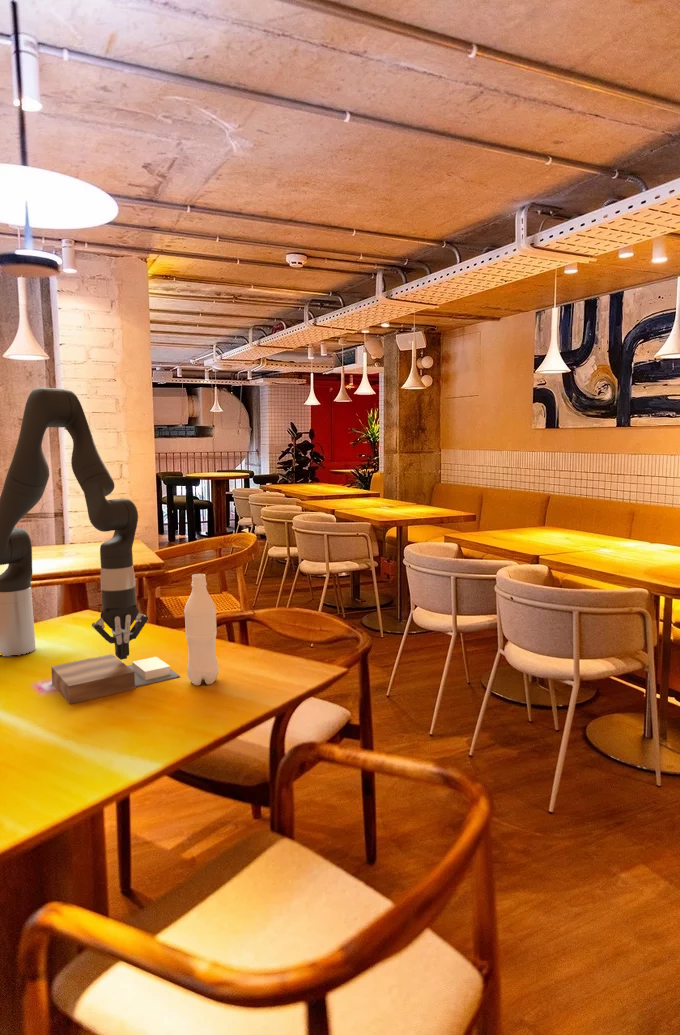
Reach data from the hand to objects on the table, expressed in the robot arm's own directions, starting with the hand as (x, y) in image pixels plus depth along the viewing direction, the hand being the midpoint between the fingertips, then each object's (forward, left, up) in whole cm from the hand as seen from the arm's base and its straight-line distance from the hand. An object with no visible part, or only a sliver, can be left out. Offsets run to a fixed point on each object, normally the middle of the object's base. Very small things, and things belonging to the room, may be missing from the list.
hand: (122, 658), depth 154 cm
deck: (0, -7, -5) cm, 9 cm away
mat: (0, +6, -5) cm, 7 cm away
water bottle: (+14, +14, -5) cm, 20 cm away
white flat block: (0, +7, -3) cm, 7 cm away
